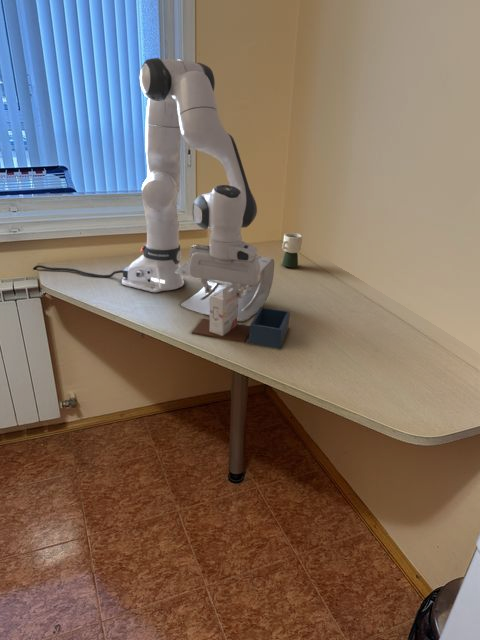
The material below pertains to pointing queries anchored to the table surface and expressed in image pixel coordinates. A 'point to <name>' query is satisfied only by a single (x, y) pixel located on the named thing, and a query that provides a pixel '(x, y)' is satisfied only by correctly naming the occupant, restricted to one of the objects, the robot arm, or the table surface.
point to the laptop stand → (250, 299)
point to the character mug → (291, 249)
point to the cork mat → (235, 334)
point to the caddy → (269, 327)
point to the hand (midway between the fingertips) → (223, 294)
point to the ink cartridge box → (224, 310)
